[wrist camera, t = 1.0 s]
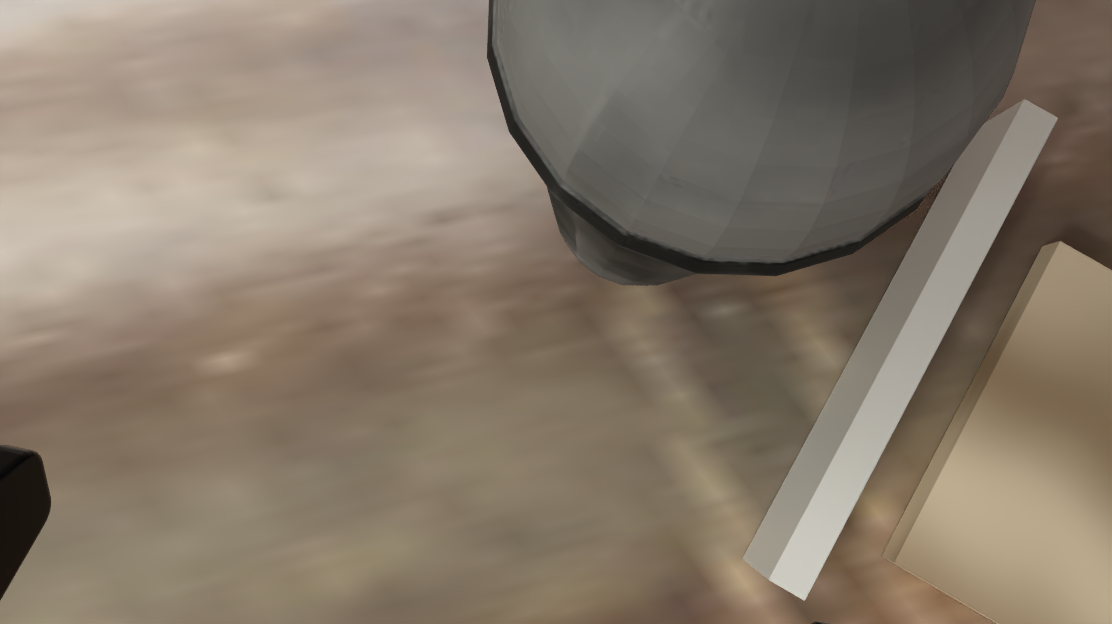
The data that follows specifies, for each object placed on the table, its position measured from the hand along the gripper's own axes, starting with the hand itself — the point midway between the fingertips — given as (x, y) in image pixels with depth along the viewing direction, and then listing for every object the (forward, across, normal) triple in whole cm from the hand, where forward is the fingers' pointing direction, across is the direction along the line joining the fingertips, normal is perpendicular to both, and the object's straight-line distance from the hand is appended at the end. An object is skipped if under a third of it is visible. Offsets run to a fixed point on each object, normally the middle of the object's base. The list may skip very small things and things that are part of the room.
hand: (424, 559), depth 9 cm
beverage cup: (+15, -3, +2) cm, 16 cm away
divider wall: (+14, -10, +4) cm, 17 cm away
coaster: (+12, -17, +6) cm, 22 cm away
